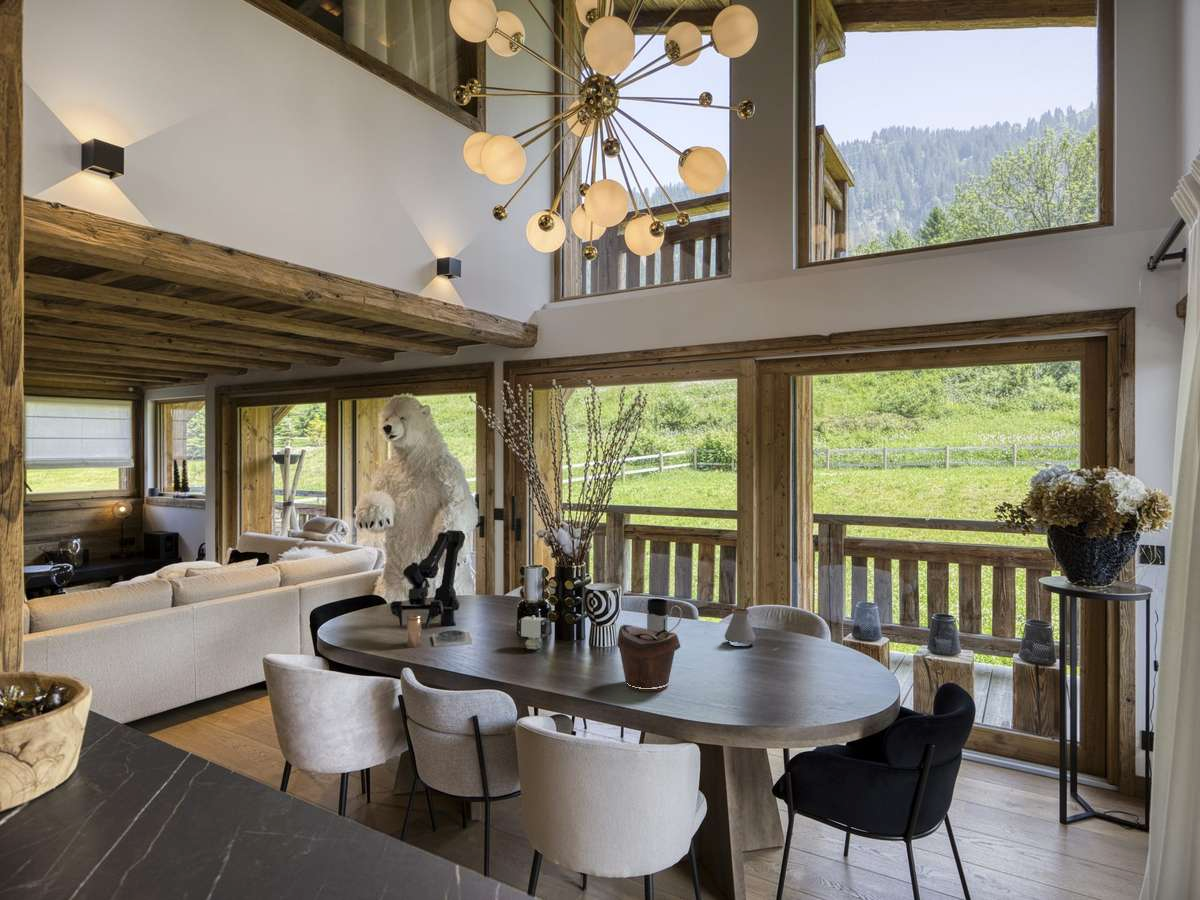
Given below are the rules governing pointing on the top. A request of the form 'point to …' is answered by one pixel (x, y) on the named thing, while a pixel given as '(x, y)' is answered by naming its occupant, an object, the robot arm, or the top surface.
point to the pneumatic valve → (533, 630)
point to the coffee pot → (740, 626)
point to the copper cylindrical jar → (414, 630)
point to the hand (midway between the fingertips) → (413, 627)
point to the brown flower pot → (646, 656)
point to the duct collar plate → (451, 638)
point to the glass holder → (658, 615)
